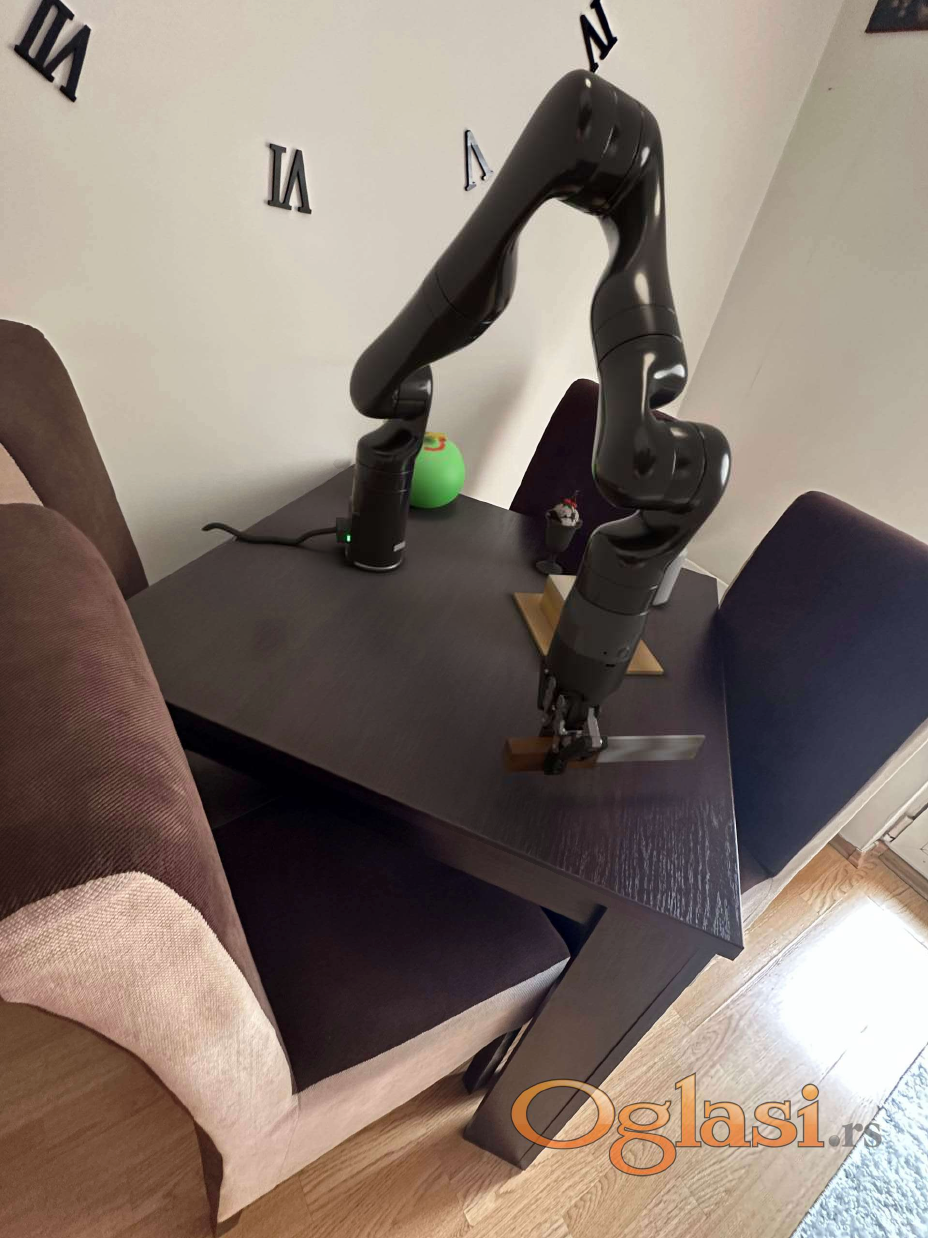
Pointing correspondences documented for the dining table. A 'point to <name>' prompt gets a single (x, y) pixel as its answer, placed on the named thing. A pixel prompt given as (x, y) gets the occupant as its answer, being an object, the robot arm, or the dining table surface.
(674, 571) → the can
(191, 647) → the dining table surface
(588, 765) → the knife
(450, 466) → the toy bird
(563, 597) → the wooden stepped base
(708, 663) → the dining table surface
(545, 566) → the sundae
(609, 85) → the robot arm
